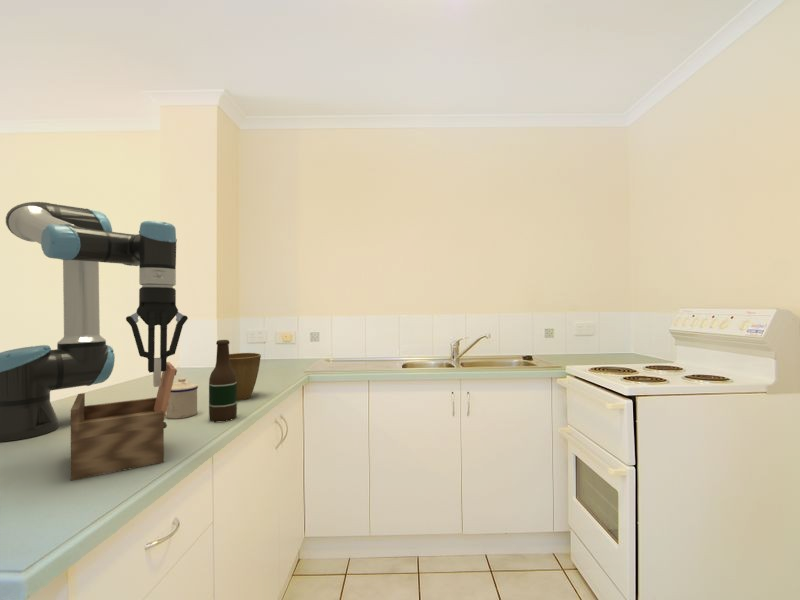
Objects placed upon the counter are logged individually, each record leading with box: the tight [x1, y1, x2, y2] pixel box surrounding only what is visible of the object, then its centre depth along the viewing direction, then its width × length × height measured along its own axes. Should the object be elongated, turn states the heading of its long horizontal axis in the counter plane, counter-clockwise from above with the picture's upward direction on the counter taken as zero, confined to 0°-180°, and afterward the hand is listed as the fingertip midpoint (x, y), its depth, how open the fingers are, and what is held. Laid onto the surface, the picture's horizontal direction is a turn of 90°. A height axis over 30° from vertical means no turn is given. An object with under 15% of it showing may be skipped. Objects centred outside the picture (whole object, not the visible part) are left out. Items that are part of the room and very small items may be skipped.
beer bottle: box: [208, 339, 238, 423], centre depth 123 cm, size 8×8×24 cm
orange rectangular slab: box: [154, 361, 178, 419], centre depth 98 cm, size 2×15×12 cm, turn 35°
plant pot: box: [229, 352, 262, 401], centre depth 151 cm, size 15×15×16 cm
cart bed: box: [70, 392, 168, 481], centre depth 92 cm, size 17×18×14 cm
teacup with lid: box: [165, 377, 199, 419], centre depth 128 cm, size 12×9×12 cm
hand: (157, 385), depth 96 cm, fingers closed
